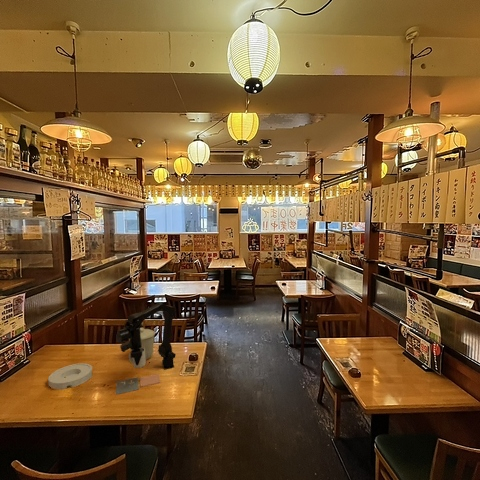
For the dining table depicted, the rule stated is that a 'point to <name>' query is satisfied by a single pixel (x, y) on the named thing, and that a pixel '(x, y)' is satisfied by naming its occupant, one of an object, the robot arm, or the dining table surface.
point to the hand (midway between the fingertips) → (137, 362)
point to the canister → (147, 341)
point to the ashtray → (70, 376)
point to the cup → (142, 360)
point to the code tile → (127, 385)
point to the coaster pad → (149, 380)
